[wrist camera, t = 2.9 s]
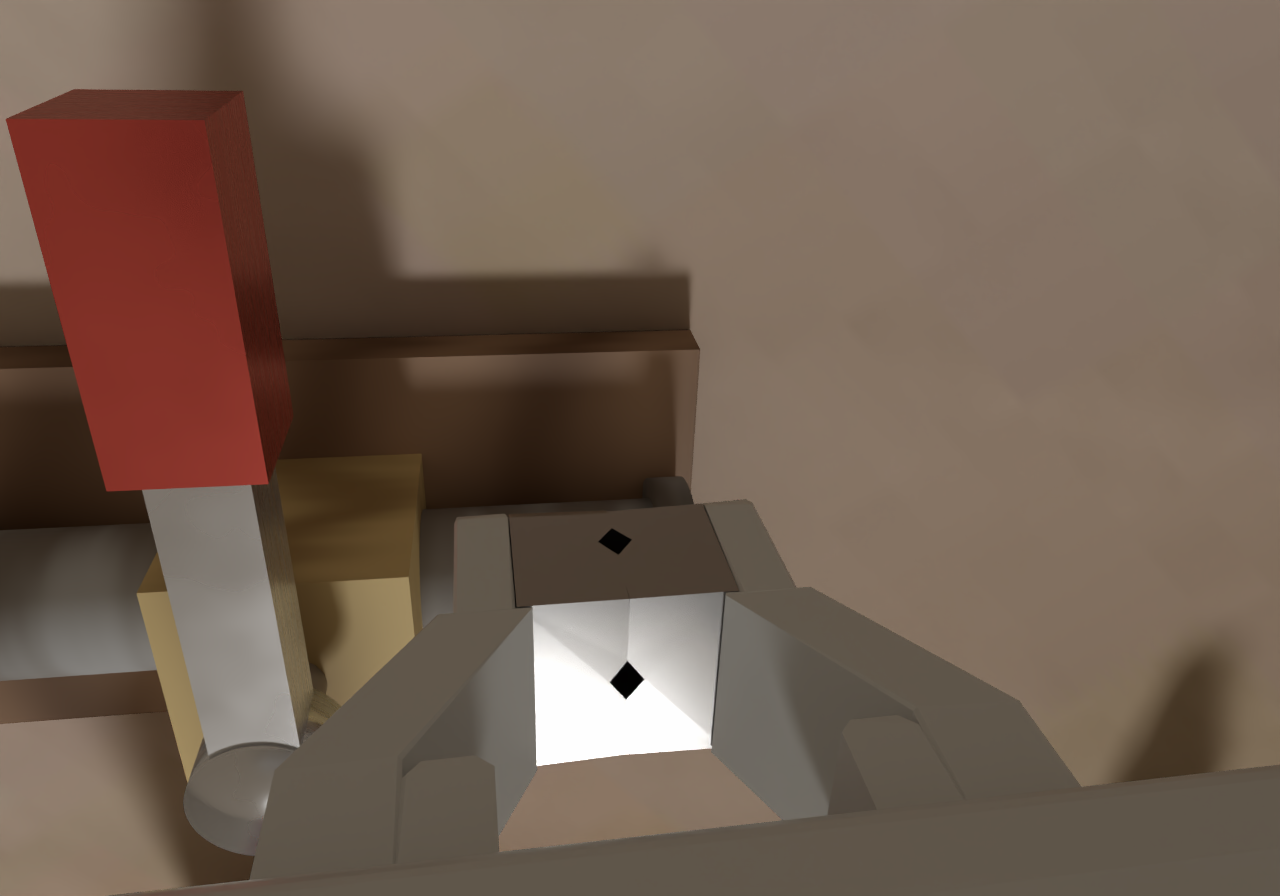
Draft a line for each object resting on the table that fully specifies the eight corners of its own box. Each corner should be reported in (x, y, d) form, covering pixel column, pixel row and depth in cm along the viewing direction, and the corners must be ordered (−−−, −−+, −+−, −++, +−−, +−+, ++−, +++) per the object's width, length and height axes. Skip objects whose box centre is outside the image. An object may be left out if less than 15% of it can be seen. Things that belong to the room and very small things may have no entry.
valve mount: (690, 330, 29) (768, 483, 21) (671, 643, 35) (727, 855, 27) (-122, 350, 26) (-382, 539, 18) (5, 691, 32) (-150, 947, 24)
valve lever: (361, 768, 23) (349, 859, 21) (223, 781, 23) (195, 875, 21) (262, 91, 16) (227, 120, 14) (53, 88, 16) (-18, 119, 13)
